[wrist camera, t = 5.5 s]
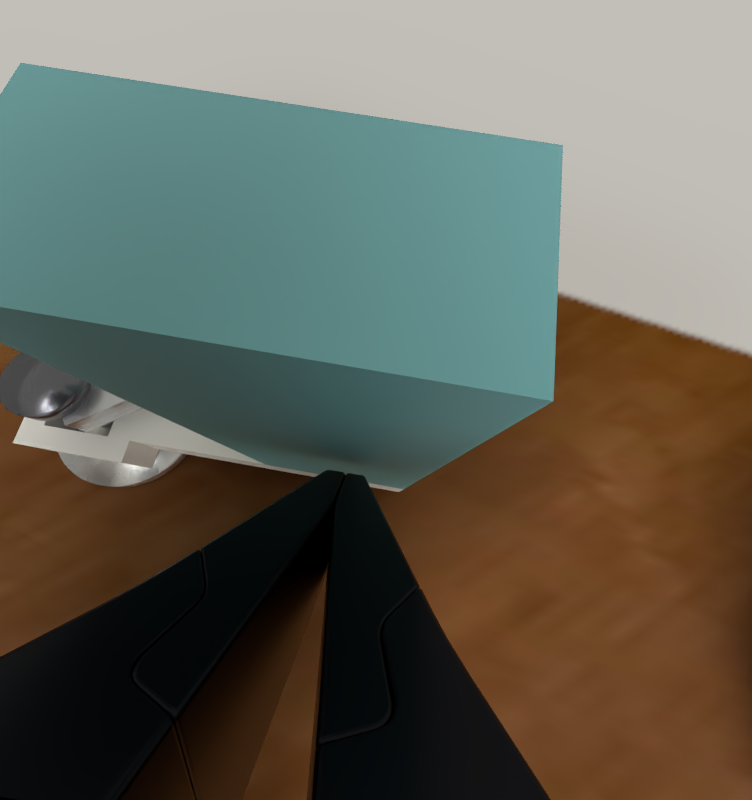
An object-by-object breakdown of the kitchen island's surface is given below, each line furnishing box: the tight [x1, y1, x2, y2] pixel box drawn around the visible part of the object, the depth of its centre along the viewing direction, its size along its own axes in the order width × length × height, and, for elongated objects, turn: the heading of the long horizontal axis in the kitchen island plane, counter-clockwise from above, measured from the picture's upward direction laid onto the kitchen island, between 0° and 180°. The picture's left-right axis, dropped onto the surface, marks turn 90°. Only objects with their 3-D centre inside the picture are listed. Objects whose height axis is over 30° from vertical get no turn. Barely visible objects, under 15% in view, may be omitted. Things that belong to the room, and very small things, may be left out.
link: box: [0, 63, 563, 492], centre depth 9 cm, size 14×4×13 cm, turn 80°
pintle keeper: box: [0, 352, 188, 487], centre depth 14 cm, size 9×6×5 cm, turn 116°
